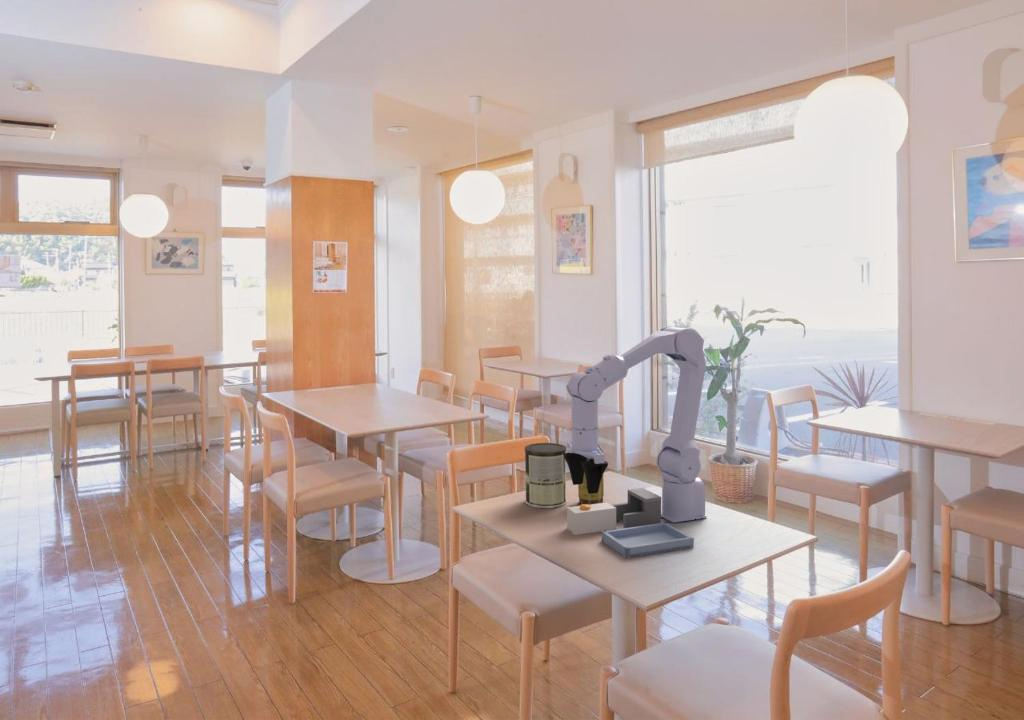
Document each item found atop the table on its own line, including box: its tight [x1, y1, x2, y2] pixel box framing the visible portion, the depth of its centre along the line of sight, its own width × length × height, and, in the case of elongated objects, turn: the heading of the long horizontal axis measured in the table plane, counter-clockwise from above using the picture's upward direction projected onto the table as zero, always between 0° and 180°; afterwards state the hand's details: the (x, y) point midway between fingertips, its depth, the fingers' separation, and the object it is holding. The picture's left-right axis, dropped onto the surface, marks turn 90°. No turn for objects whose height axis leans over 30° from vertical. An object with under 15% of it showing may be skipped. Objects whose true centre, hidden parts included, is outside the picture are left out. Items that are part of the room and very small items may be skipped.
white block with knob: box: [566, 502, 617, 536], centre depth 160 cm, size 10×4×6 cm, turn 110°
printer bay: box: [611, 487, 662, 529], centre depth 163 cm, size 9×8×6 cm
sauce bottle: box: [577, 444, 605, 505], centre depth 178 cm, size 6×6×20 cm
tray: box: [601, 522, 695, 559], centre depth 150 cm, size 16×11×2 cm
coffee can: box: [524, 442, 567, 509], centre depth 179 cm, size 10×10×14 cm
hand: (585, 488), depth 159 cm, fingers open, 7 cm apart
